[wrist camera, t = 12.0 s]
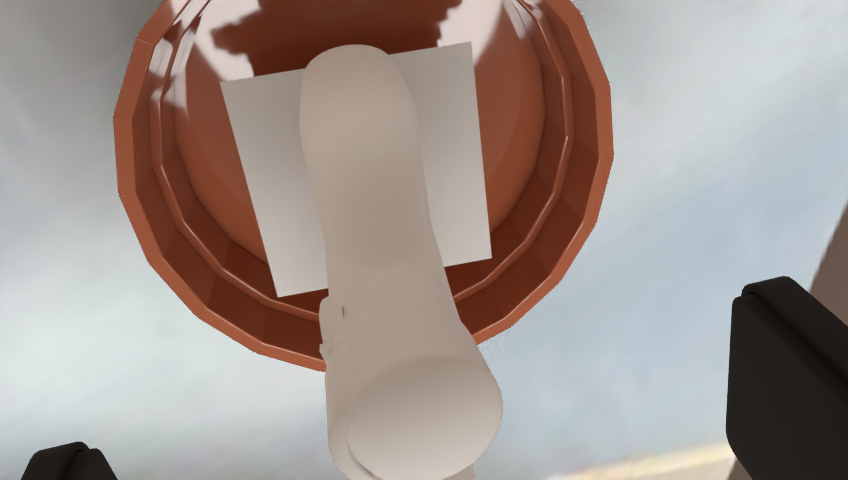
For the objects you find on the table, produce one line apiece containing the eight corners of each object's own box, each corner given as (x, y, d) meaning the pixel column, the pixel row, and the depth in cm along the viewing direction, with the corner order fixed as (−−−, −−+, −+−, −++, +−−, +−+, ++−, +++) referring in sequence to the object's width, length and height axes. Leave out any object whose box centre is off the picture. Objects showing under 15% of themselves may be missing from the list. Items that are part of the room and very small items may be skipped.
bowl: (81, -49, 21) (20, -32, 17) (540, -145, 22) (598, -153, 17) (229, 332, 28) (213, 415, 24) (575, 251, 29) (623, 318, 24)
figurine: (445, -15, 23) (630, 125, 9) (472, 237, 27) (624, 575, 14) (224, 19, 22) (92, 219, 9) (288, 271, 27) (263, 653, 13)
